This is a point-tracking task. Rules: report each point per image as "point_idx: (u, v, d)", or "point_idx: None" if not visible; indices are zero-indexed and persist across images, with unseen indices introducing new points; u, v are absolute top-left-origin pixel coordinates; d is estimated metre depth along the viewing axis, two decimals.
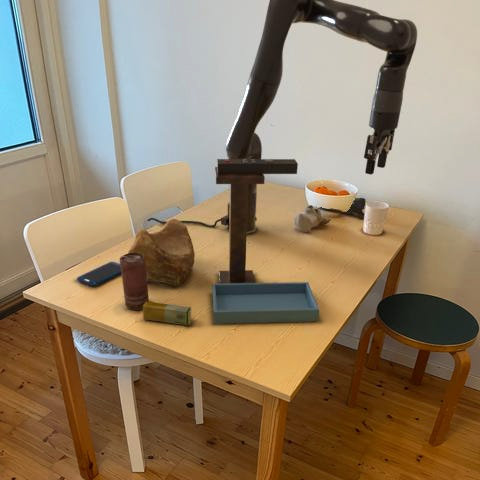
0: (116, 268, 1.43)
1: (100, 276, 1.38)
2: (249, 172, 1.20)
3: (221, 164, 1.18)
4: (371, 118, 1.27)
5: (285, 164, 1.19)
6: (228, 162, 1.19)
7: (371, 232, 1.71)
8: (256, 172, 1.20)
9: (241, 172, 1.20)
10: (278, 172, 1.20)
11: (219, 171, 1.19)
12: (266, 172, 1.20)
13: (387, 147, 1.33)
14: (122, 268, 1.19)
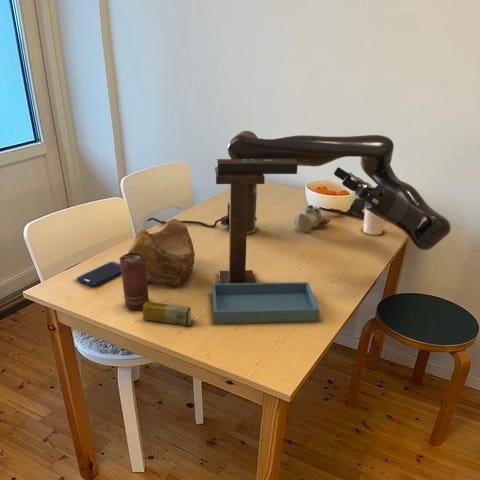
0: (116, 268, 1.43)
1: (100, 276, 1.38)
2: (249, 172, 1.20)
3: (221, 164, 1.18)
4: (389, 196, 1.25)
5: (285, 164, 1.19)
6: (228, 162, 1.19)
7: (371, 232, 1.71)
8: (256, 172, 1.20)
9: (241, 172, 1.20)
10: (278, 172, 1.20)
11: (219, 171, 1.19)
12: (266, 172, 1.20)
13: None
14: (122, 268, 1.19)
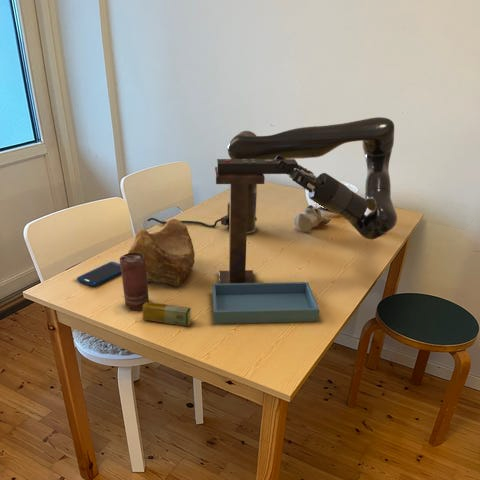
0: (116, 268, 1.43)
1: (100, 276, 1.38)
2: (249, 172, 1.20)
3: (221, 164, 1.18)
4: (331, 184, 1.22)
5: None
6: (228, 162, 1.19)
7: None
8: (256, 172, 1.20)
9: (241, 172, 1.20)
10: (278, 172, 1.20)
11: (219, 171, 1.19)
12: (266, 172, 1.20)
13: None
14: (122, 268, 1.19)
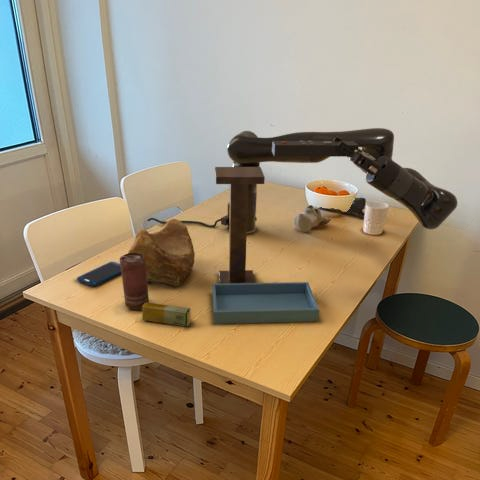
0: (116, 268, 1.43)
1: (100, 276, 1.38)
2: (307, 154, 1.13)
3: (278, 146, 1.12)
4: (392, 167, 1.16)
5: None
6: (285, 144, 1.12)
7: (371, 232, 1.71)
8: (314, 154, 1.13)
9: (299, 154, 1.13)
10: (337, 154, 1.14)
11: (276, 153, 1.13)
12: (325, 154, 1.14)
13: None
14: (122, 268, 1.19)
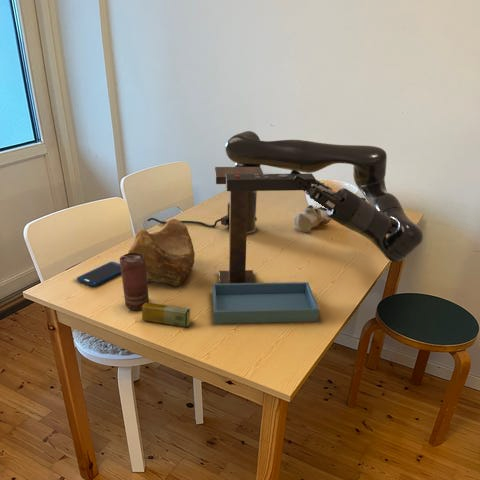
0: (116, 268, 1.43)
1: (100, 276, 1.38)
2: (262, 189, 1.08)
3: (231, 180, 1.06)
4: (352, 201, 1.11)
5: None
6: (238, 178, 1.07)
7: None
8: (269, 189, 1.08)
9: (253, 189, 1.08)
10: (294, 188, 1.09)
11: (228, 188, 1.07)
12: (280, 188, 1.08)
13: None
14: (122, 268, 1.19)
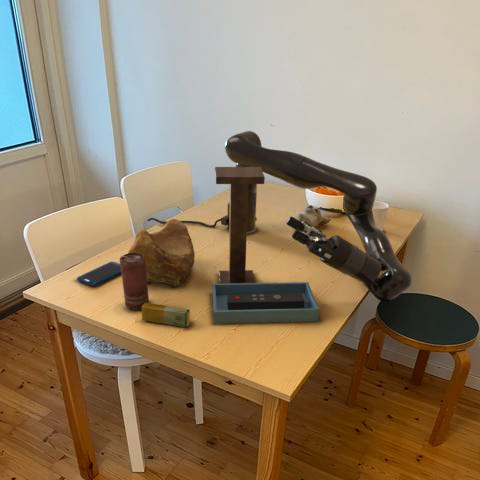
0: (116, 268, 1.43)
1: (100, 276, 1.38)
2: None
3: (231, 303, 1.24)
4: (344, 248, 1.17)
5: (293, 301, 1.25)
6: (238, 300, 1.24)
7: None
8: (265, 308, 1.25)
9: (250, 309, 1.25)
10: (286, 308, 1.26)
11: (229, 308, 1.24)
12: (274, 308, 1.26)
13: None
14: (122, 268, 1.19)
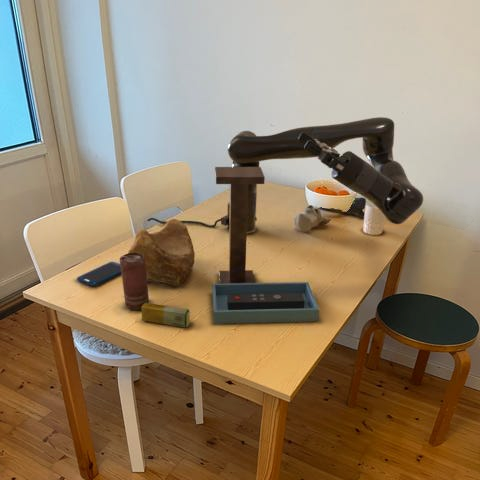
0: (116, 268, 1.43)
1: (100, 276, 1.38)
2: None
3: (231, 303, 1.24)
4: (356, 163, 1.17)
5: (293, 301, 1.25)
6: (238, 300, 1.24)
7: (371, 232, 1.71)
8: (265, 308, 1.25)
9: (250, 309, 1.25)
10: (286, 308, 1.26)
11: (229, 308, 1.24)
12: (274, 308, 1.26)
13: (317, 154, 1.21)
14: (122, 268, 1.19)
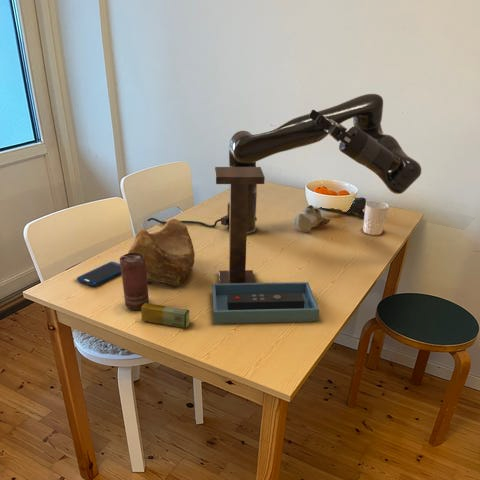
0: (116, 268, 1.43)
1: (100, 276, 1.38)
2: None
3: (231, 303, 1.24)
4: (361, 136, 1.31)
5: (293, 301, 1.25)
6: (238, 300, 1.24)
7: (371, 232, 1.71)
8: (265, 308, 1.25)
9: (250, 309, 1.25)
10: (286, 308, 1.26)
11: (229, 308, 1.24)
12: (274, 308, 1.26)
13: (326, 129, 1.34)
14: (122, 268, 1.19)
